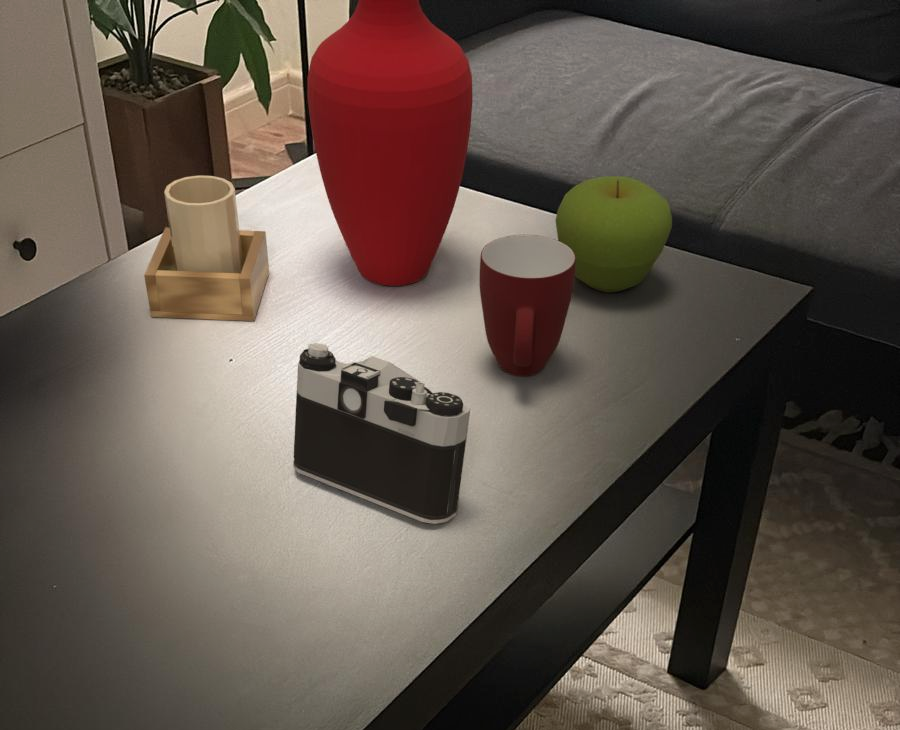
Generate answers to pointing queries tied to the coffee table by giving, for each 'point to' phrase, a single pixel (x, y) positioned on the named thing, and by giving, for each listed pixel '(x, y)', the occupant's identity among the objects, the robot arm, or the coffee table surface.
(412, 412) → the camera
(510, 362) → the mug
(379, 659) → the coffee table surface
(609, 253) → the apple
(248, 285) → the open wooden box
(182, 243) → the beige cup
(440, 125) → the vase
